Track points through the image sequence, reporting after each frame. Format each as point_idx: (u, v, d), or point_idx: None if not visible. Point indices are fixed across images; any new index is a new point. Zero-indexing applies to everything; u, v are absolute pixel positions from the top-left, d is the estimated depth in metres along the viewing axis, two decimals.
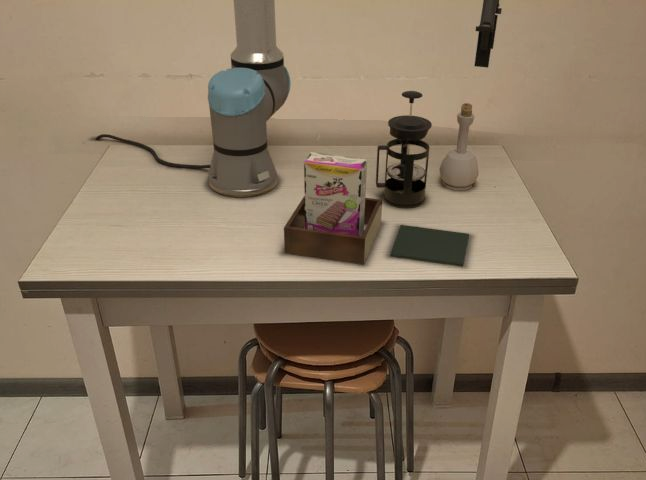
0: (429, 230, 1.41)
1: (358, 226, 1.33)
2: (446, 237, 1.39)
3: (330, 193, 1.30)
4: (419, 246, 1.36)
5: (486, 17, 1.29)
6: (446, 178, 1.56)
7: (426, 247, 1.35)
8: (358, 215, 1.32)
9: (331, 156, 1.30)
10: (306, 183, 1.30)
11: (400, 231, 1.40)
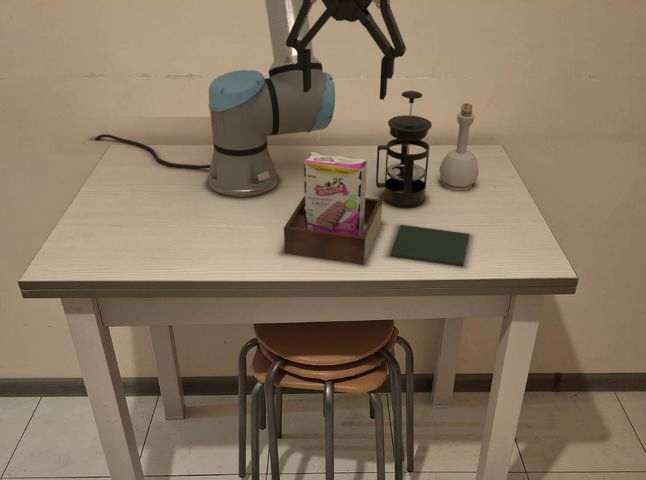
0: (429, 230, 1.41)
1: (358, 226, 1.33)
2: (446, 237, 1.39)
3: (330, 193, 1.30)
4: (419, 246, 1.36)
5: None
6: (446, 178, 1.56)
7: (426, 247, 1.35)
8: (358, 215, 1.32)
9: (331, 156, 1.30)
10: (306, 183, 1.30)
11: (400, 231, 1.40)
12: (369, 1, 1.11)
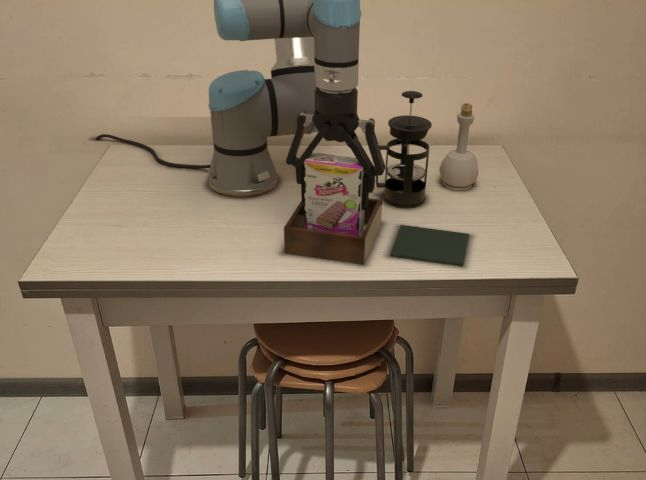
0: (429, 230, 1.41)
1: (358, 226, 1.33)
2: (446, 237, 1.39)
3: (330, 193, 1.30)
4: (419, 246, 1.36)
5: None
6: (446, 178, 1.56)
7: (426, 247, 1.35)
8: (358, 215, 1.32)
9: (331, 156, 1.30)
10: (306, 183, 1.30)
11: (400, 231, 1.40)
12: (356, 126, 1.23)
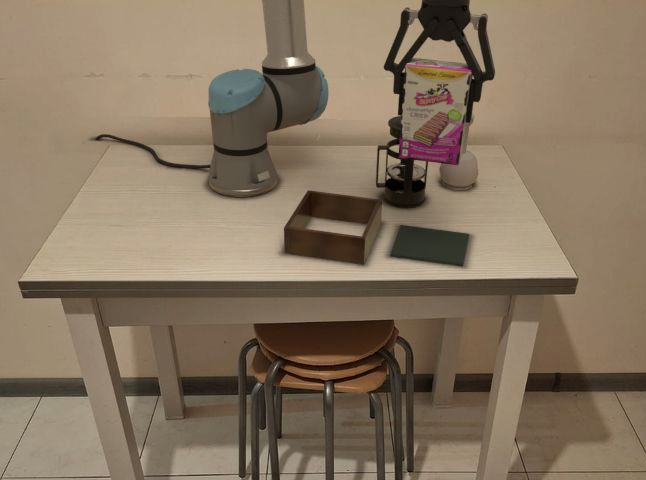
0: (429, 230, 1.41)
1: (460, 141, 1.21)
2: (446, 237, 1.39)
3: (432, 102, 1.17)
4: (419, 246, 1.36)
5: None
6: (446, 178, 1.56)
7: (426, 247, 1.35)
8: (462, 128, 1.19)
9: (434, 61, 1.17)
10: (405, 91, 1.17)
11: (400, 231, 1.40)
12: (468, 21, 1.10)
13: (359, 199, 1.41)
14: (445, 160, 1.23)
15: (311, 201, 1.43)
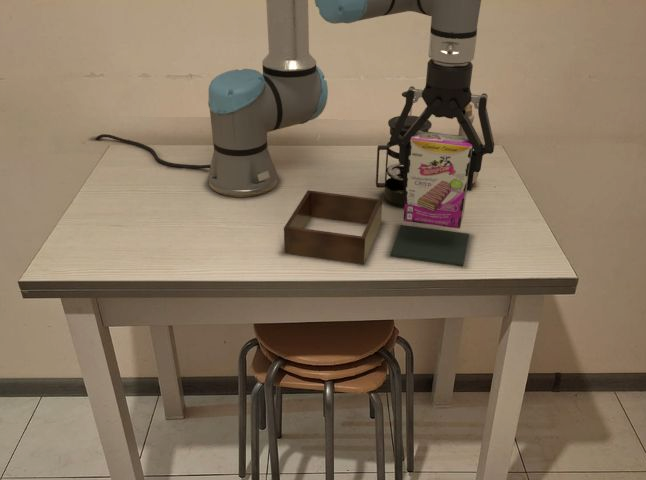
0: (429, 230, 1.41)
1: (462, 207, 1.28)
2: (446, 237, 1.39)
3: (435, 172, 1.25)
4: (419, 246, 1.36)
5: None
6: None
7: (426, 247, 1.35)
8: (463, 195, 1.27)
9: (437, 134, 1.25)
10: (410, 162, 1.25)
11: (400, 231, 1.40)
12: (469, 101, 1.18)
13: (359, 199, 1.41)
14: (447, 224, 1.31)
15: (311, 201, 1.43)
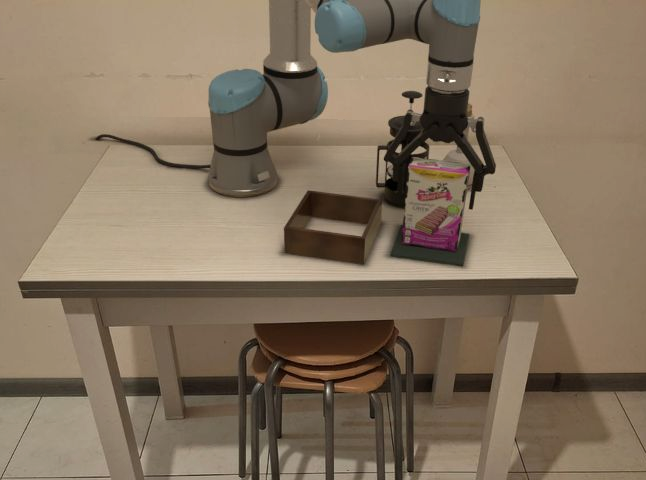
0: None
1: (458, 231, 1.31)
2: None
3: (432, 198, 1.28)
4: None
5: (389, 147, 1.27)
6: None
7: None
8: (460, 220, 1.30)
9: (434, 161, 1.28)
10: (408, 188, 1.28)
11: (400, 231, 1.40)
12: (465, 126, 1.20)
13: (359, 199, 1.41)
14: (444, 247, 1.34)
15: (311, 201, 1.43)
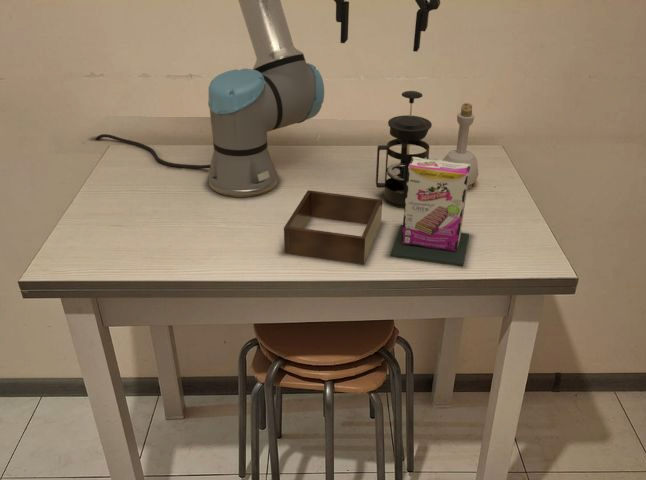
0: None
1: (458, 231, 1.31)
2: None
3: (432, 198, 1.28)
4: None
5: None
6: None
7: None
8: (460, 220, 1.30)
9: (434, 161, 1.28)
10: (408, 188, 1.28)
11: (400, 231, 1.40)
12: None
13: (359, 199, 1.41)
14: (444, 247, 1.34)
15: (311, 201, 1.43)
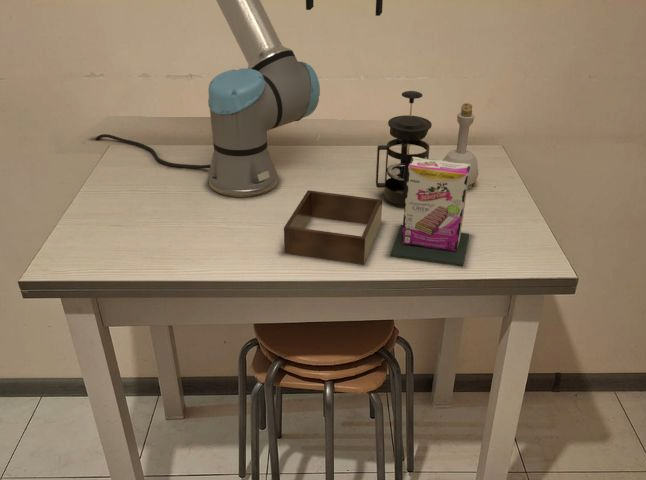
0: None
1: (458, 231, 1.31)
2: None
3: (432, 198, 1.28)
4: None
5: None
6: None
7: None
8: (460, 220, 1.30)
9: (434, 161, 1.28)
10: (408, 188, 1.28)
11: (400, 231, 1.40)
12: None
13: (359, 199, 1.41)
14: (444, 247, 1.34)
15: (311, 201, 1.43)
